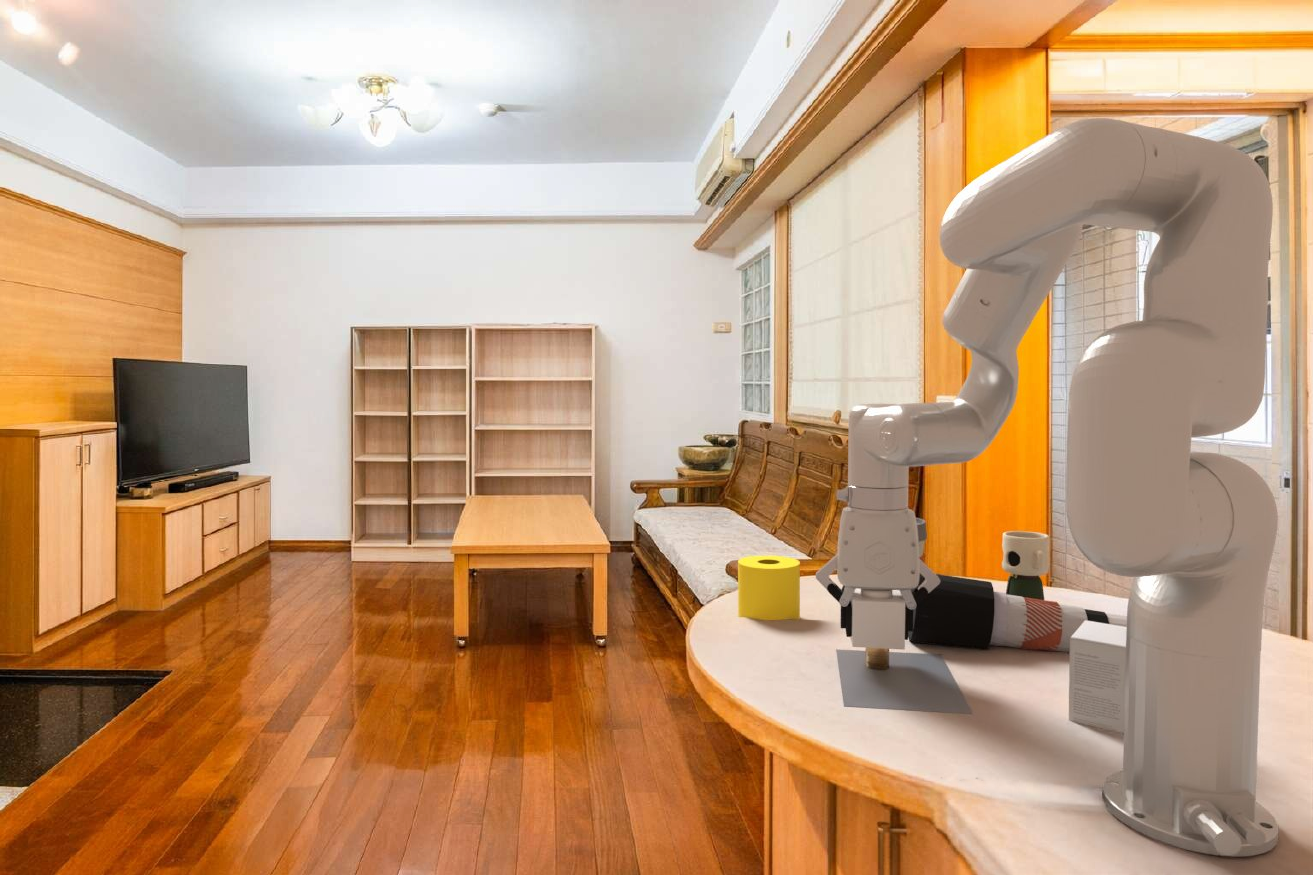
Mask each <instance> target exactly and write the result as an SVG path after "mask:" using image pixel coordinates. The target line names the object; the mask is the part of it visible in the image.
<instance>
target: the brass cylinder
mask: <svg viewBox="0 0 1313 875" xmlns="http://www.w3.org/2000/svg"><path fill="white" fill-rule="evenodd" d="M864 651H865V666H866V667H867V668H870V669H873V670H886V669H888V668H889V652H890V649H884V648H865V650H864Z"/></svg>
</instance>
